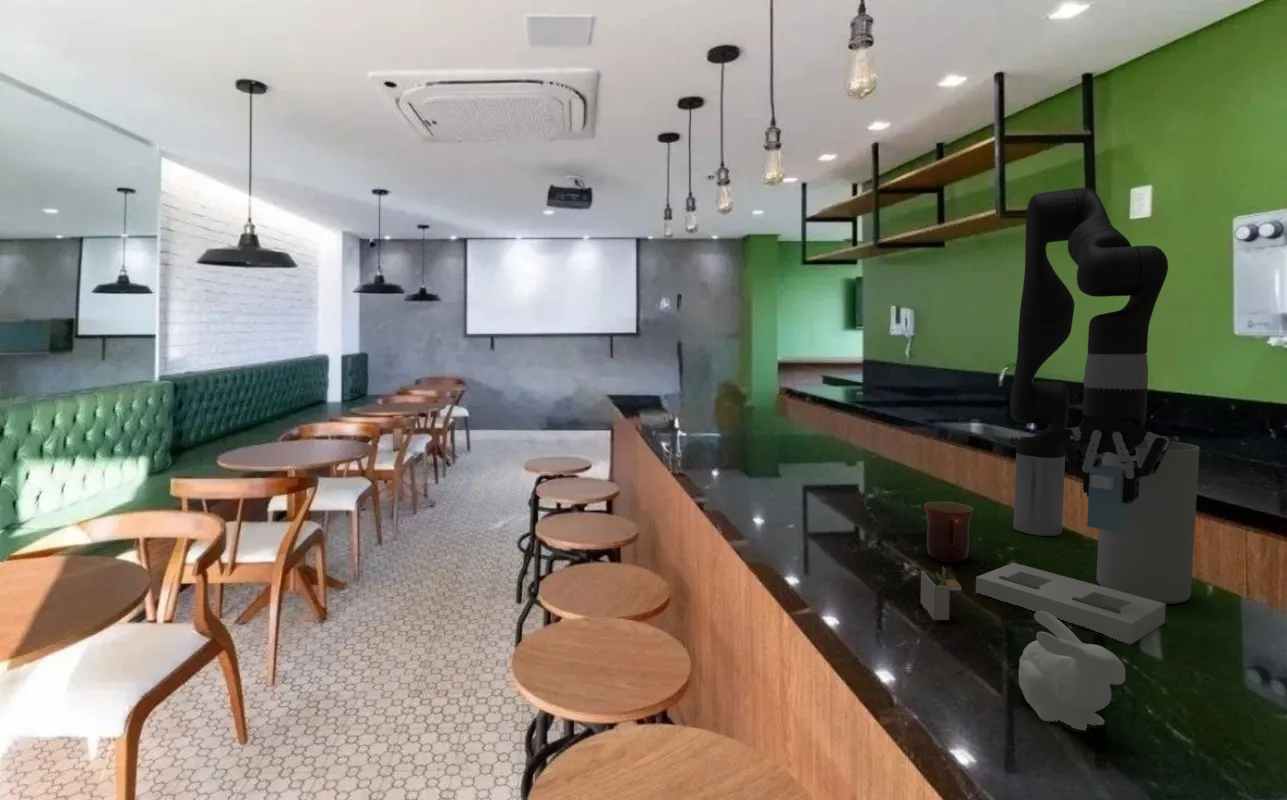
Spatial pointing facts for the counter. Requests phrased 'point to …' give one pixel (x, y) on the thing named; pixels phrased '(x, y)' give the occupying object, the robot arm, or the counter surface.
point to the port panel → (1074, 601)
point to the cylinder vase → (1155, 530)
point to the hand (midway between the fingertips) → (1109, 499)
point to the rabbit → (1067, 675)
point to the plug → (1107, 499)
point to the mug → (948, 530)
